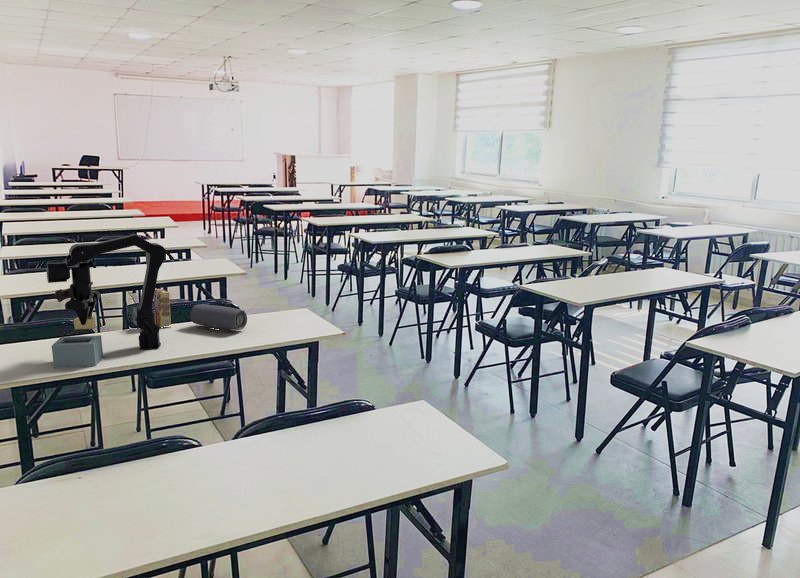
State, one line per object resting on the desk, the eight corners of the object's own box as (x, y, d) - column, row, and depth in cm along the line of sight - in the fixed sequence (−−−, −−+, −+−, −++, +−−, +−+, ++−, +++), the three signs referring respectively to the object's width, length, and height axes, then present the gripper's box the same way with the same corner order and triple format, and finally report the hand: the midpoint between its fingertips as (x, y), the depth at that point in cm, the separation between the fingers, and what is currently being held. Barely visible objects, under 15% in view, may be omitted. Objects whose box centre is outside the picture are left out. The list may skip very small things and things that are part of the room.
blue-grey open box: (103, 356, 216) (101, 335, 214) (95, 365, 207) (93, 343, 205) (63, 358, 213) (61, 337, 212) (54, 368, 204) (51, 345, 202)
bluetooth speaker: (248, 329, 253) (247, 306, 250) (234, 335, 244) (233, 311, 242) (205, 323, 261) (203, 301, 259) (190, 328, 253) (188, 305, 250)
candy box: (172, 327, 254) (169, 292, 251) (161, 328, 252) (159, 293, 248) (165, 322, 261) (162, 288, 258) (154, 324, 258) (152, 289, 255)
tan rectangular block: (95, 326, 216) (95, 316, 215) (93, 328, 213) (92, 319, 212) (77, 326, 215) (76, 317, 214) (74, 329, 211) (73, 319, 211)
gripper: (65, 275, 218) (69, 317, 221) (46, 286, 200) (50, 331, 203) (99, 275, 220) (102, 316, 223) (82, 285, 202) (86, 330, 205)
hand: (85, 323), depth 213 cm, fingers closed on tan rectangular block, 3 cm apart
